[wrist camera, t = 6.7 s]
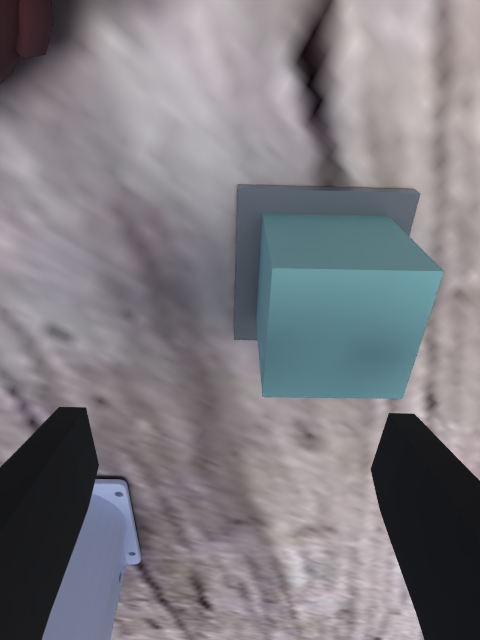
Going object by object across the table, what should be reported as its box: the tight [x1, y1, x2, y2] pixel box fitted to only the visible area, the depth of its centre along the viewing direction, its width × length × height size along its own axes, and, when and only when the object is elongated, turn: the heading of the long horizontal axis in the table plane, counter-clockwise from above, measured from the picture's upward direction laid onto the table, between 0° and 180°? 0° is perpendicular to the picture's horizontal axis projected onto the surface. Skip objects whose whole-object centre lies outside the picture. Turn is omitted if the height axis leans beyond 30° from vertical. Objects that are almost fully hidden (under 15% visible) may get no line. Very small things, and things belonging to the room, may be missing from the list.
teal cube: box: [256, 213, 444, 399], centre depth 15 cm, size 5×5×5 cm
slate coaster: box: [234, 185, 420, 340], centre depth 18 cm, size 7×7×1 cm
